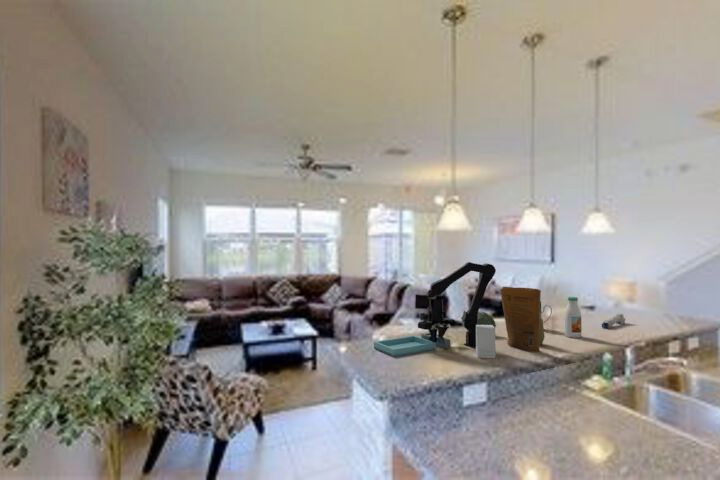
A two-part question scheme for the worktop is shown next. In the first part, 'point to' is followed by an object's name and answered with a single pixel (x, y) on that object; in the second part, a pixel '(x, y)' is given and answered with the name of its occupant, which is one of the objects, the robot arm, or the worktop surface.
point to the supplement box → (485, 341)
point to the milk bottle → (572, 319)
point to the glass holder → (543, 311)
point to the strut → (438, 340)
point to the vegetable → (485, 319)
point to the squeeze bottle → (541, 331)
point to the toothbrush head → (614, 321)
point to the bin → (404, 345)
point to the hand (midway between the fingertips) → (437, 342)
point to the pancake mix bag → (522, 317)
